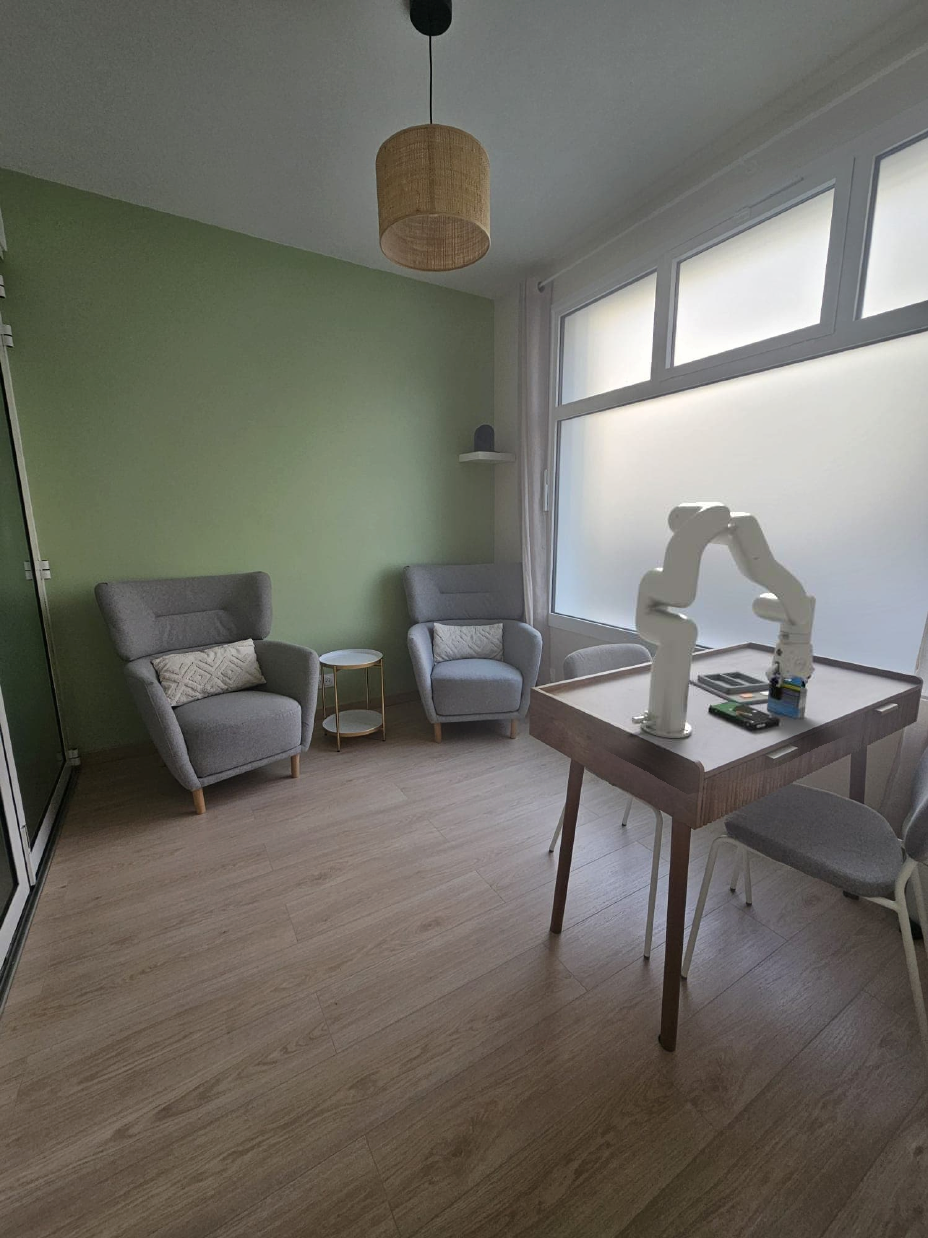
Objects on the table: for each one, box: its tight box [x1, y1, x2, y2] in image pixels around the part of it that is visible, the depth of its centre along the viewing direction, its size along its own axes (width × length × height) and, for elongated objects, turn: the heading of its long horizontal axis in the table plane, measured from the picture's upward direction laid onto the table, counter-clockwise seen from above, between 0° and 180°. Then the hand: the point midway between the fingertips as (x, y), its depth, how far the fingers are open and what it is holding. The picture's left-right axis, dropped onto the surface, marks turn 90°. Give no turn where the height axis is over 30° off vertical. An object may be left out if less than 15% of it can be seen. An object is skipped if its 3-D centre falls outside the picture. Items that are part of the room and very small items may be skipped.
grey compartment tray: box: [689, 670, 770, 706], centre depth 165 cm, size 20×22×3 cm
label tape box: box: [766, 674, 808, 720], centre depth 145 cm, size 9×4×12 cm, turn 30°
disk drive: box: [707, 701, 781, 733], centre depth 142 cm, size 10×3×15 cm
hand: (787, 696), depth 145 cm, fingers open, 7 cm apart
